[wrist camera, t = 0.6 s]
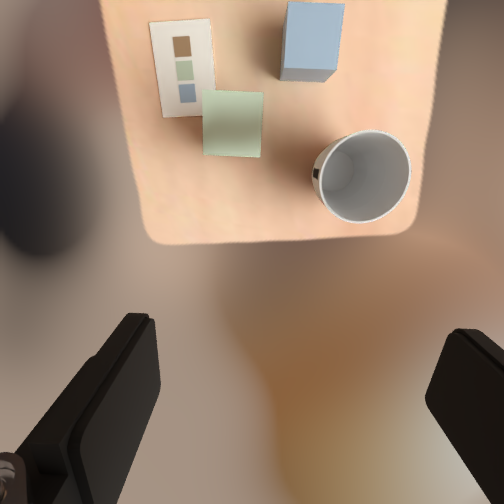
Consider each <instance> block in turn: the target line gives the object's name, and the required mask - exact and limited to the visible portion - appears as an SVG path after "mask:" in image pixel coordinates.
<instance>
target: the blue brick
mask: <svg viewBox="0 0 504 504" xmlns="http://www.w3.org/2000/svg"><path fill="white" fill-rule="evenodd" d="M344 7H345V4H336V3H311V2H288V6H287V10H286V15H285V20H284V24H283V36H282V52H281V68H280V81H302V82H325V81H326V80H327V79H328V78H329V77H330V76H331V75H332V74H333V73H334V72H335V71H336V70H337V63H338V55H339V47H340V39H341V31H342V23H343V15H344Z"/></svg>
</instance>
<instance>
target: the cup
mask: <svg viewBox="0 0 504 504" xmlns="http://www.w3.org/2000/svg"><path fill="white" fill-rule="evenodd" d="M410 179H411V162H410V157H409V154H408V152H407V150H406V148H405V147H404V145H403V144H402V143H401V142H400V141H399V140H398V139H397V138H396V137H394V136H393V135H391V134H389V133H387V132H384V131H380V130H363V131H359V132H356V133H353V134H351V135H348V136H345V137H343V138H340V139H338V140H336V141H334V142H333V143H331V144H330V145H329V146H327V147H326V148H325V149H324V150H323V151H322V152H321V153H320V154H319V156H318V157H317V159H316V160H315V162H314V165H313V168H312V182H313V186H314V189H315V192H316V194H317V196H318V198H319V199H320V201H321V202H322V203H323V204H324V205H325V206H326V207H327V209H328V210H329V211H330V212H331V213H332V214H333V215H335V216H336V217H338V218H339V219H341V220H343V221H346V222H350V223H368V222H372V221H375V220H378V219H380V218H382V217H384V216H385V215H387V214H388V213H390V212H391V211H392V210H393V209H394V208H395V207H396V206H397V205H398V204H399V203H400V201H401V200H402V199H403V197H404V195H405V193H406V191H407V189H408V186H409V183H410Z"/></svg>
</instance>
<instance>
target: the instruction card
mask: <svg viewBox="0 0 504 504" xmlns="http://www.w3.org/2000/svg"><path fill="white" fill-rule="evenodd" d="M149 25H150V32H151V39H152V46H153V53H154V59H155V66H156V73H157V80H158V87H159V94H160V101H161V107H162V114H163V118H169V117H187V116H203V114H202V89H205V90H216V85H215V73H214V61H213V49H212V37H211V24H210V19H196V20H181V21H166V22H150V23H149Z"/></svg>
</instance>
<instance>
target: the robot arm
mask: <svg viewBox="0 0 504 504" xmlns="http://www.w3.org/2000/svg"><path fill="white" fill-rule="evenodd" d="M160 385H161V381H160V370H159V360H158V350H157V340H156V330H155V321H154V319H151V318H149V315H148V314H144V313H128V314H127V315H126V316H125V317H124V318H123V320H122V321H121V322H120V324H119V325H118V326H117V327H116V329H115V330H114V331H113V333H112V334H111V335H110V337H109V338H108V339H107V341H106V342H105V343H104V345H103V346H102V347H101V348H100V350H99V351H98V352H97V354H96V355H95V356H92V357H90V358H89V359H88V360H87V361H86V362H85V364H84V365H83V366H82V368H81V369H80V370H79V371H78V373H77V374H76V375H75V376H74V378H73V379H72V380H71V382H70V383H69V384H68V385H67V387H66V388H65V389H64V390H63V392H62V393H61V394H60V396H59V397H58V398H57V399H56V401H55V402H54V403H53V405H52V406H51V407H50V408H49V410H48V411H47V412H46V413H45V415H44V416H43V417H42V418H41V420H40V421H39V422H38V424H37V425H36V426H35V427H34V429H33V430H32V431H31V432H30V434H29V435H28V437H27V438H26V439H25V440H24V442H23V443H22V444H21V445H20V447H19V448H18V449H17V451H16V452H15V453H10V452H1V453H0V504H117V501H118V498H119V496H120V493H121V491H122V488H123V486H124V483H125V481H126V478H127V475H128V473H129V470H130V468H131V465H132V462H133V460H134V457H135V455H136V452H137V450H138V447H139V444H140V441H141V439H142V437H143V434H144V431H145V429H146V426H147V424H148V421H149V419H150V416H151V413H152V411H153V408H154V406H155V403H156V401H157V398H158V395H159V392H160ZM425 401H426V404H427V407H428V409H429V410H430V412H431V413H432V415H433V416H434V418H435V419H436V421H437V422H438V424H439V425H440V427H441V428H442V430H443V431H444V433H445V434H446V436H447V437H448V439H449V441H450V442H451V444H452V445H453V446H454V448H455V450H456V451H457V453H458V454H459V455H460V457H461V459H462V460H463V462H464V463H465V465H466V466H467V468H468V469H469V471H470V472H471V474H472V475H473V477H474V478H475V480H476V482H477V483H478V485H479V486H480V488H481V489H482V490H483V492H484V494H485V495H486V497H487V498H488V500H489V501H490V503H491V504H504V350H503V349H502V348H501V347H500V346H498V345H497V344H496V343H495V342H493V341H492V340H491V339H490V338H489V337H487V336H486V335H485V334H484V333H483V332H481V331H479V330H476V329H460V328H458V329H455V330H454V331H453V332H452V333H450V334H449V335H448V337H447V339H446V341H445V344H444V347H443V350H442V352H441V355H440V357H439V360H438V363H437V366H436V368H435V370H434V373H433V376H432V378H431V381H430V384H429V386H428V389H427V392H426V395H425Z"/></svg>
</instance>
